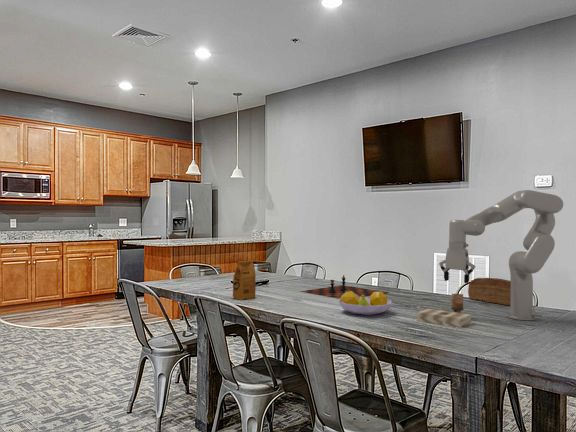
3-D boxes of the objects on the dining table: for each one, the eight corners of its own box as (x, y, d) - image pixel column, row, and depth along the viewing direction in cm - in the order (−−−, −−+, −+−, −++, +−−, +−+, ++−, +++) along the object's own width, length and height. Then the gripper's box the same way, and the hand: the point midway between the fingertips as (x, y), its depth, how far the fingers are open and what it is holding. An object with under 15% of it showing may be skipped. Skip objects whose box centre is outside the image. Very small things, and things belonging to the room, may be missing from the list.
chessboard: (342, 286, 327) (342, 270, 327) (388, 293, 296) (388, 276, 296) (299, 292, 301) (299, 275, 301) (345, 301, 271) (345, 282, 270)
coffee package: (230, 298, 274) (230, 260, 274) (248, 296, 282) (248, 259, 282) (239, 300, 267) (240, 261, 267) (257, 298, 274) (257, 260, 275)
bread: (515, 307, 249) (515, 282, 249) (464, 299, 275) (465, 276, 275) (527, 305, 256) (527, 281, 256) (477, 297, 282) (477, 275, 282)
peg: (465, 317, 223) (465, 294, 223) (460, 319, 219) (460, 295, 219) (454, 316, 227) (454, 293, 227) (449, 317, 223) (449, 294, 223)
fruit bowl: (350, 305, 253) (350, 284, 253) (399, 311, 239) (399, 288, 239) (327, 314, 229) (327, 291, 229) (380, 321, 215) (380, 296, 215)
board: (471, 323, 210) (471, 314, 210) (459, 328, 202) (459, 318, 202) (429, 317, 224) (429, 308, 224) (417, 320, 216) (417, 312, 216)
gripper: (478, 246, 220) (477, 283, 220) (443, 244, 232) (442, 279, 232) (471, 247, 215) (471, 284, 214) (436, 244, 227) (435, 280, 227)
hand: (456, 281), depth 223 cm, fingers open, 9 cm apart
